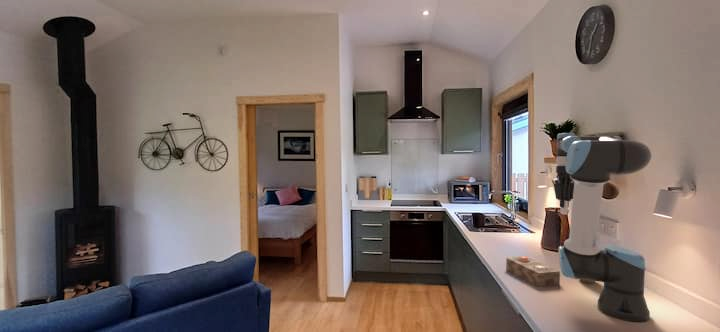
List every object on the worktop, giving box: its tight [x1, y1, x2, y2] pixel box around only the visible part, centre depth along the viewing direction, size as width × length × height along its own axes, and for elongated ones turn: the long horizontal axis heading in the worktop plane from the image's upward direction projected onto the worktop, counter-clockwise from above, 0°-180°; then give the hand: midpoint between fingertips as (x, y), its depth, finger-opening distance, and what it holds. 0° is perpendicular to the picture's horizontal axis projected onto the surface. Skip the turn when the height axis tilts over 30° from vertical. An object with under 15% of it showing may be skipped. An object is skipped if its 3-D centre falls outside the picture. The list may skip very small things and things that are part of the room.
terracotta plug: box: [518, 255, 529, 262], centre depth 164 cm, size 4×4×6 cm
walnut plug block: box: [505, 256, 561, 287], centre depth 159 cm, size 22×11×6 cm, turn 13°
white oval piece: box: [535, 266, 545, 270], centre depth 153 cm, size 4×4×6 cm
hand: (563, 214), depth 162 cm, fingers closed
